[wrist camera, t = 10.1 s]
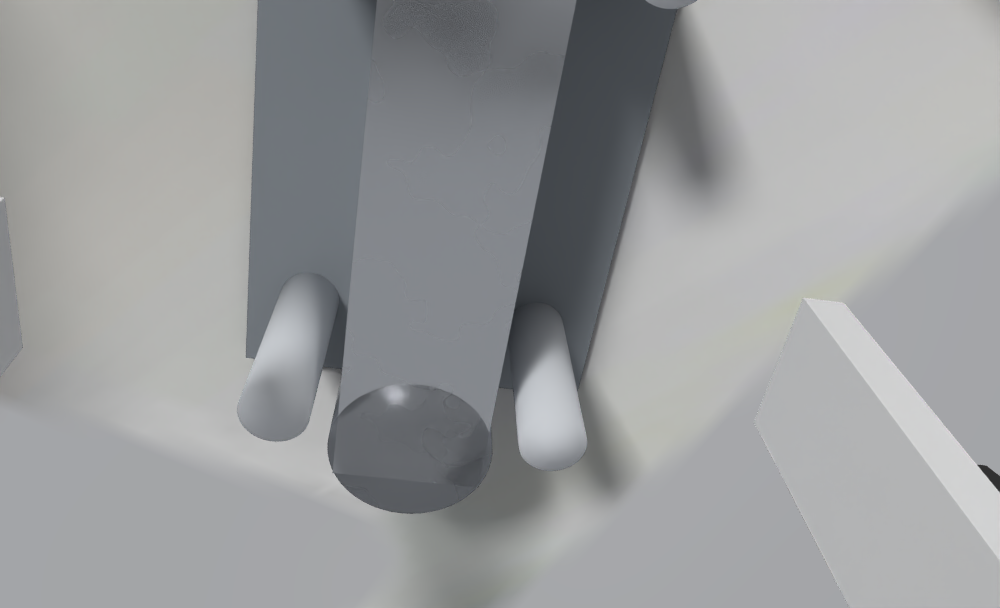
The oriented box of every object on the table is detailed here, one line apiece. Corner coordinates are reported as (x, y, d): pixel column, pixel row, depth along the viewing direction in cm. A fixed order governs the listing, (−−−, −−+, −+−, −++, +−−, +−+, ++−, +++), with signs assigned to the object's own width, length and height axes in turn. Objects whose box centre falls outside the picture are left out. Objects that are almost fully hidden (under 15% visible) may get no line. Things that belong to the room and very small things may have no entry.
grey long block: (475, 405, 29) (478, 520, 24) (345, 391, 29) (322, 505, 24) (582, -164, 21) (619, -160, 16) (402, -198, 20) (385, -206, 16)
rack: (248, 351, 28) (196, 481, 22) (270, -258, 20) (196, -290, 14) (574, 390, 29) (601, 522, 24) (718, -167, 21) (810, -165, 16)
